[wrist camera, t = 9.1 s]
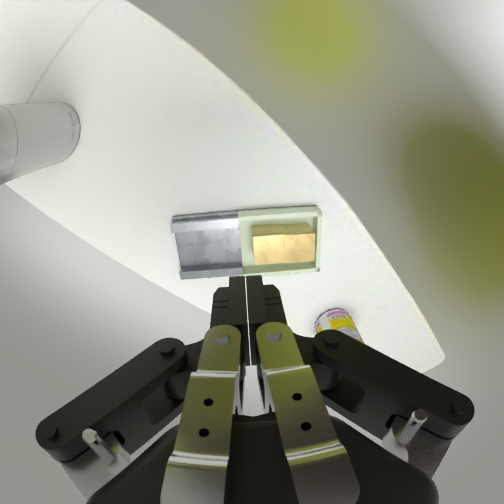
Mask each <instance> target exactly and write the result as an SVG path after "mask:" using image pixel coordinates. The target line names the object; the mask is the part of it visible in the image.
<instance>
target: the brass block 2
mask: <svg viewBox="0 0 504 504" xmlns="http://www.w3.org/2000/svg"><path fill="white" fill-rule="evenodd" d="M281 227H282V229H283V232H284V234H285V263H298V262H310V261H314V256H315V232H314V231H313V229H312V228H311V226H310V225H309V223H296V224H281Z"/></svg>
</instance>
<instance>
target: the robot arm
mask: <svg viewBox="0 0 504 504" xmlns="http://www.w3.org/2000/svg"><path fill="white" fill-rule="evenodd" d="M79 134H80V123H79V119H78V116H77V114H76V112H75V111H74V109H73V108H72V107H71V106H69V105H67V104H65V103H25V104H10V105H0V185H1V184H3V183H6V182H8V181H10V180H13V179H15V178H18V177H20V176H22V175H25V174H28V173H30V172H33V171H35V170H38V169H41V168H44V167H47V166H49V165H52V164H55V163H58V162H61V161H63V160H65V159H67V158H68V157H69V156H70V155H71V154H72V152H73V151H74V149H75V147H76V145H77V143H78V140H79ZM246 285H247V304H248V320H249V335H250V349H251V362H252V365H257V380H258V386H259V391H260V396H261V401H262V406H263V411H264V414H262V415H259V416H254V417H252V416H245V415H243V404H244V386H245V379H244V377H245V373H246V370H245V366H249V365H250V356H249V339H248V322H247V306H246V290H245V276H231V277H229V287H220V288H218V289H217V290H216V292H215V293H214V295H213V304H212V314H211V323H210V329H209V330H208V331H207V332H206V334H205V337H204V339H203V340H201V341H199V342H197V343H193V344H189V345H186V346H185V345H184V344H183V342H182V341H180V340H178V339H175V338H164V339H161V340H159V341H157V342H155V343H154V344H152V345H151V346H150V347H149V348H147V349H145V350H144V351H143V352H141V353H140V354H138V355H137V356H135V357H134V358H133V359H131V360H130V361H128V362H127V363H125V364H124V365H123V366H121V367H120V368H118V369H117V370H115V371H114V372H113V373H111V374H110V375H108V376H107V377H105V378H104V379H102V380H101V381H99V382H98V383H97V384H95V385H94V386H92V387H91V388H89V389H88V390H86V391H85V392H84V393H82V394H81V395H79V396H78V397H76V398H75V399H73V400H72V401H70V402H69V403H67V404H66V405H64V406H63V407H62V408H60V409H58V410H57V411H56V412H54V413H52V414H51V415H50V416H48V417H47V418H45V419H44V420H42V421H41V422H40V423H39V425H38V426H37V429H36V440H37V442H38V444H39V445H40V446H41V447H42V448H43V449H45V451H47V452H48V453H49V454H50V455H51V457H52V458H54V459H55V460H56V461H57V462H58V463H60V464H61V465H62V467H63V468H64V469H65V471H66V472H67V474H68V475H69V477H70V478H71V479H72V481H73V482H74V484H75V485H76V486H77V488H78V489H79V490H80V492H81V493H82V494H83V495H84V497H85V498H86V499H87V500H88V501H87V503H86V504H438V502H439V496H438V490H437V487H436V486H435V483H434V482H433V480H432V477H433V475H434V473H435V472H436V470H437V468H438V467H439V465H440V463H441V461H442V459H443V457H444V456H445V454H446V452H447V450H448V448H449V446H450V443H451V442H452V441H453V439H454V438H455V437H456V436H457V435H458V434H459V433H460V432H461V431H462V430H463V429H464V428H465V427H466V425H467V424H468V423H469V422H470V421H471V420H472V418H473V416H474V405H473V403H472V401H471V400H470V399H469V398H468V397H467V396H465V395H464V394H462V393H460V392H457V391H455V390H453V389H451V388H449V387H447V386H445V385H443V384H441V383H439V382H437V381H435V380H433V379H431V378H429V377H427V376H425V375H423V374H421V373H419V372H417V371H415V370H413V369H412V368H410V367H408V366H406V365H404V364H402V363H400V362H398V361H396V360H394V359H392V358H390V357H388V356H386V355H384V354H383V353H381V352H379V351H377V350H375V349H373V348H371V347H369V346H367V345H365V344H364V343H362V342H360V341H358V340H356V339H354V338H352V337H350V336H349V335H347V334H345V333H343V332H341V331H338V330H334V329H327V330H323V331H320V332H319V333H317V334H316V335H315V337H314V338H310V337H303V336H299V335H297V334H295V333H293V332H292V330H291V329H290V327H289V326H288V325H287V321H286V317H285V313H284V309H283V304H282V300H281V296H280V292H279V290H278V289H277V288H276V287H275V286H274V285H263V282H262V276H261V275H249V276H246ZM326 405H327V406H328V407H330V408H332V409H333V410H334V411H336V412H338V413H339V414H341V415H342V416H344V417H345V418H347V419H348V420H350V421H352V422H353V423H355V424H357V425H358V426H360V427H361V428H363V429H364V430H366V431H368V432H369V433H371V434H373V435H374V436H376V437H378V438H379V439H381V440H382V445H383V447H381V446H380V445H378V444H376V443H375V442H373V441H372V440H370V439H369V438H367V437H366V436H364V435H363V434H361V433H360V432H358V431H357V430H355V429H354V428H352V427H351V426H350V425H348V424H346V423H345V422H344V421H342V420H340V419H338V418H336V417H333V416H331V415H329V413H328V411H327V408H326ZM181 412H182V414H181V419H180V423H179V424H178V425H176V426H175V427H172V428H171V429H169V430H168V431H167V432H165V433H164V434H163V435H162V436H161V437H160V438H159V439H158V440H157V441H156V442H154V443H153V444H152V445H151V446H150V447H149V448H148V449H146V450H145V451H144V452H143V453H142V454H141V455H140V456H139V457H137V458H136V459H135V460H134V461H133V462H131V463H130V455H131V454H132V453H134V452H135V451H136V450H137V449H139V448H140V447H141V446H142V445H144V444H145V443H146V442H147V441H148V440H150V439H151V438H152V437H153V436H154V435H156V434H157V433H158V432H159V431H160V430H162V429H163V428H164V427H165V426H166V425H167V424H169V423H170V422H171V421H172V420H173V419H174V418H176V417H177V416H178V415H179V414H180V413H181Z"/></svg>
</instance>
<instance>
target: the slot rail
mask: <svg viewBox="0 0 504 504" xmlns="http://www.w3.org/2000/svg"><path fill="white" fill-rule="evenodd" d="M172 220H173V221H172V223H171V224H170V225H171V231H172V233H175V237H176V243H177V249H178V254H179V259H180V265H181V269H180V272H179V273H180V278H181V279H195V278H210V277H224V276H237V275H243V265H242V254H241V242H240V230H239V221H238V211H226V212H215V213H203V214H193V215H183V216H174V217H173V218H172Z"/></svg>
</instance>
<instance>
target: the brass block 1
mask: <svg viewBox="0 0 504 504" xmlns="http://www.w3.org/2000/svg"><path fill="white" fill-rule="evenodd" d="M251 229H252V245H253V256H254V264H255V265H262V264H275V263H285V234H284V232H283V229H282V227H281V225H280V224H268V225H254V226H251Z"/></svg>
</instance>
